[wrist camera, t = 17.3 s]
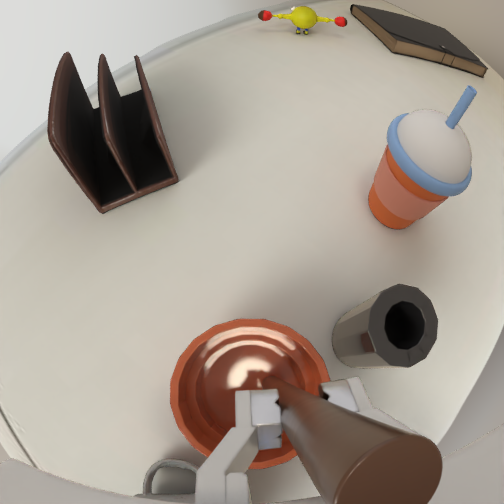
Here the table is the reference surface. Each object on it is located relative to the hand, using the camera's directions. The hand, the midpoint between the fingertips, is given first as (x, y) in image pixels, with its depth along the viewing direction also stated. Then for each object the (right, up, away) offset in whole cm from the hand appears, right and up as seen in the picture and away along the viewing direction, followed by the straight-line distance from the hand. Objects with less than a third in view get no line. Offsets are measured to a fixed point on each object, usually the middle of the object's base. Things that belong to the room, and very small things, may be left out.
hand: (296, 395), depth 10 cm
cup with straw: (+14, +11, +21) cm, 27 cm away
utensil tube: (+8, -3, +15) cm, 18 cm away
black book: (+43, +61, +41) cm, 85 cm away
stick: (0, -6, +13) cm, 14 cm away
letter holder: (-18, +20, +24) cm, 36 cm away
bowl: (-2, -7, +14) cm, 16 cm away
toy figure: (+9, +50, +37) cm, 62 cm away
